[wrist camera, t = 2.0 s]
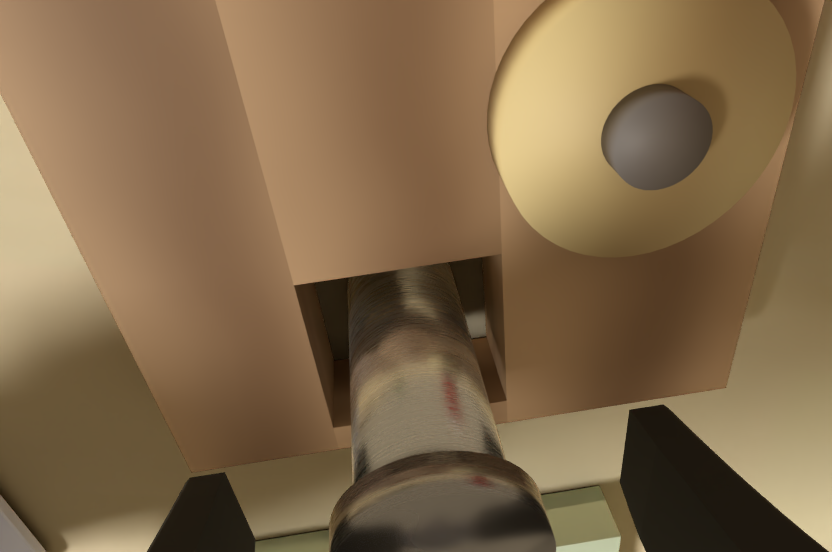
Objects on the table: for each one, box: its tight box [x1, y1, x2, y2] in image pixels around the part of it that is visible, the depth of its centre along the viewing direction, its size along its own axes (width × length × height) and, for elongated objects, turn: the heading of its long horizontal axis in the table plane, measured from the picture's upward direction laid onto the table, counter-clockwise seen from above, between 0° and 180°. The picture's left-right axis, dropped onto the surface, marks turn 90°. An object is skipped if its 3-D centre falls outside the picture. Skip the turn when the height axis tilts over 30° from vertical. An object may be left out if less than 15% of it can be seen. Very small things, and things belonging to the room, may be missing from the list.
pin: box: [329, 262, 556, 552], centre depth 13 cm, size 4×4×8 cm
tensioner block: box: [0, 0, 825, 473], centre depth 12 cm, size 14×12×4 cm
